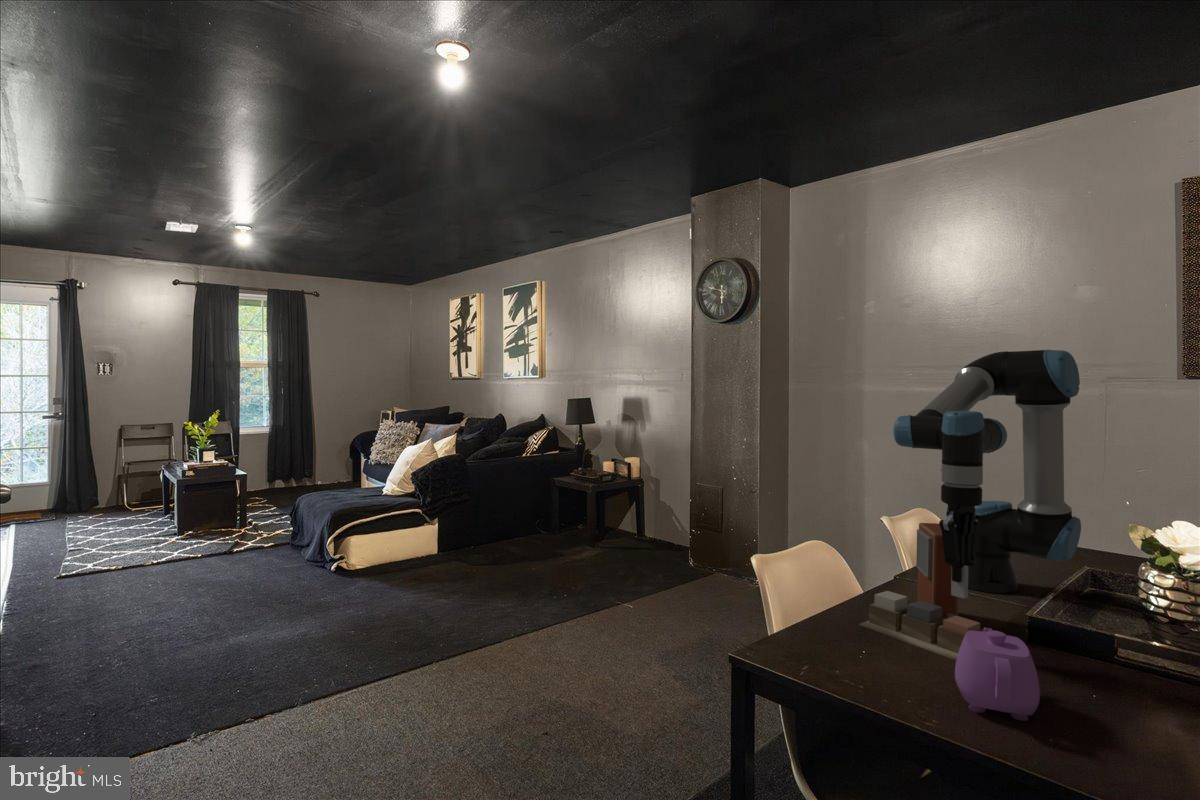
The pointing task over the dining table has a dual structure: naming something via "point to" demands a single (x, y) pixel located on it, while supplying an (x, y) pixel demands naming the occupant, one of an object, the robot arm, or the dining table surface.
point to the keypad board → (915, 631)
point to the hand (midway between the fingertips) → (959, 596)
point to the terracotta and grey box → (934, 570)
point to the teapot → (997, 674)
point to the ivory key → (890, 601)
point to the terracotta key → (960, 625)
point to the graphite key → (924, 611)
